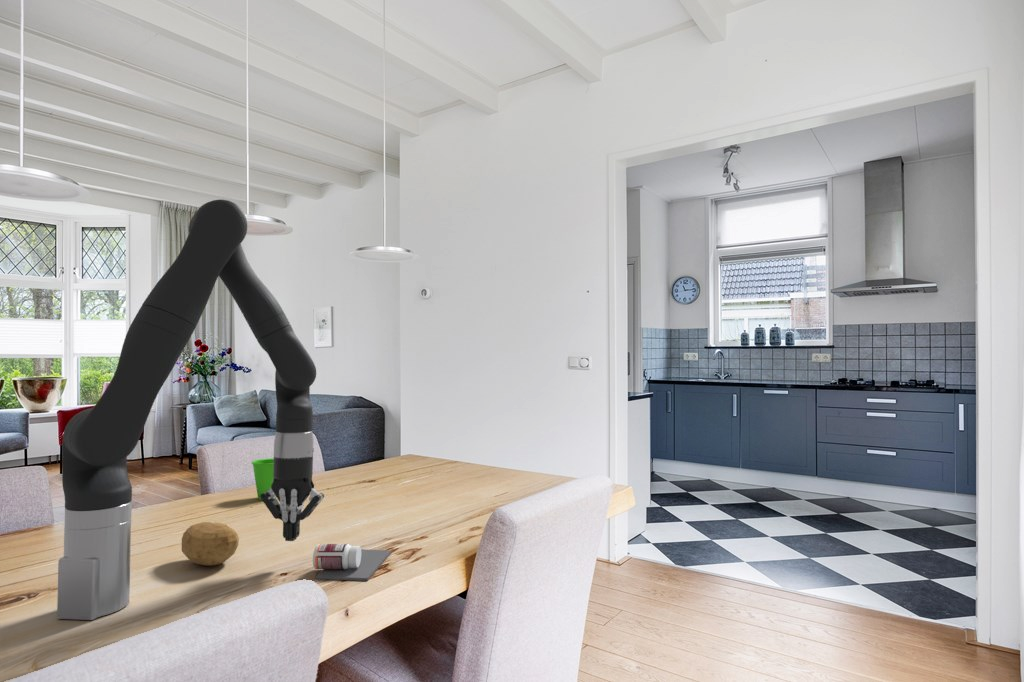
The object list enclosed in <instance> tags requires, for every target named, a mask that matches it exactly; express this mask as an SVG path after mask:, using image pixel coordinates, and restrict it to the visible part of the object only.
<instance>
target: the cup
mask: <svg viewBox="0 0 1024 682" xmlns="http://www.w3.org/2000/svg"><path fill="white" fill-rule="evenodd" d="M273 461H274V457H273V458H261V459H255V460H251V464H252V467H253V473H254V481H255V487H256V494H257V495H256V496H257V498H258V500H259V501H262V499H261V498H260V495H261V494H263V493H265V492H267V491H268V490H269V489H271V485H272V483H273V480H274V477H273Z"/></svg>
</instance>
